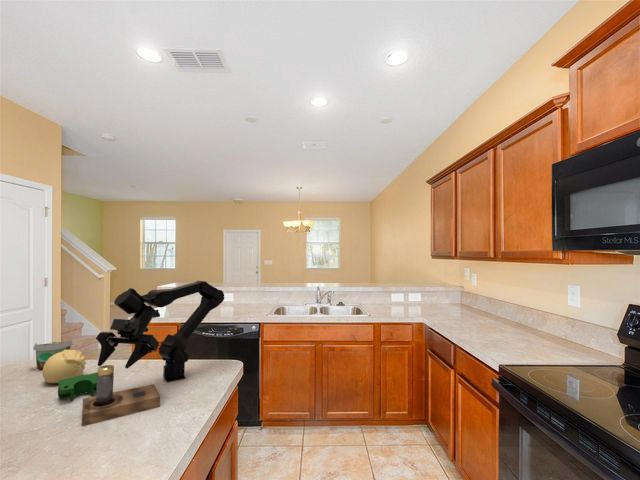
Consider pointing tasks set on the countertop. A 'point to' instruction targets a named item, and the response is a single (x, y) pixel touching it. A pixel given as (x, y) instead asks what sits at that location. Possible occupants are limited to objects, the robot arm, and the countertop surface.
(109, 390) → the grey and gold cylinder
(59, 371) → the sculpture
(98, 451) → the countertop surface
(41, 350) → the food container
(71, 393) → the clamp
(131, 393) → the socket plate
